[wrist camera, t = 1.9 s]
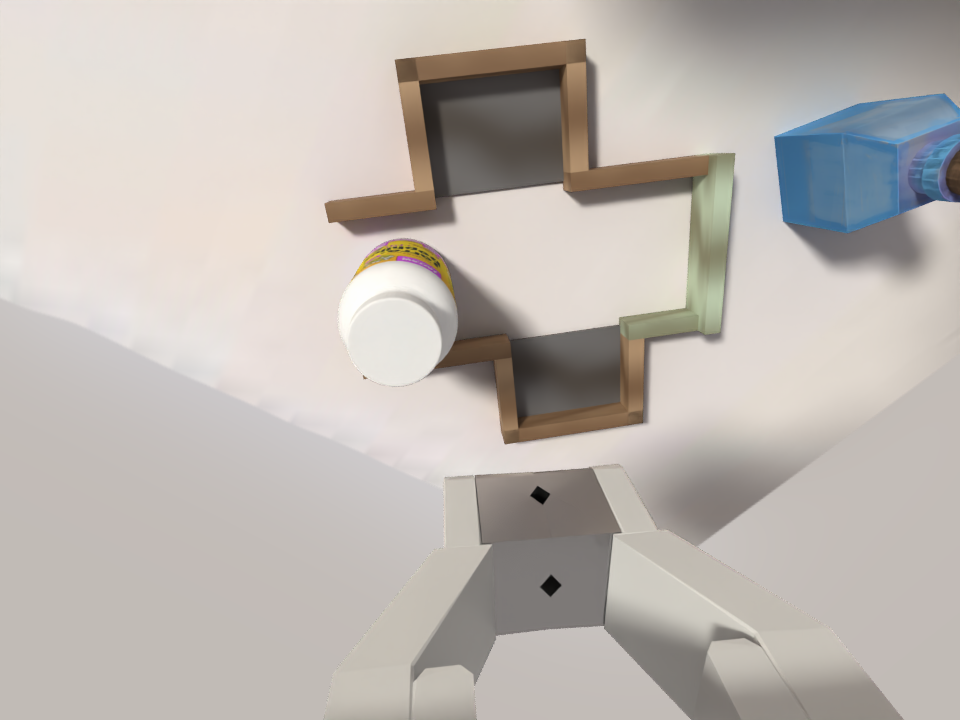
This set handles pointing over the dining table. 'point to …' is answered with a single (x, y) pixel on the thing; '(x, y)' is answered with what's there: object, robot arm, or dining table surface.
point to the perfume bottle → (870, 162)
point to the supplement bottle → (399, 313)
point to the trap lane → (563, 157)
